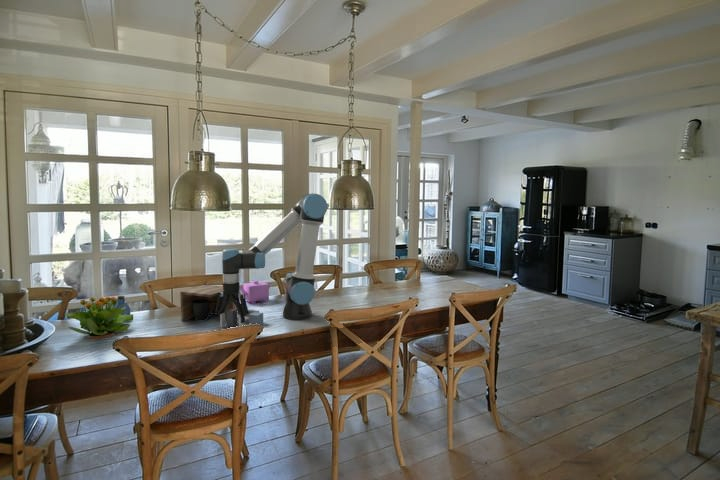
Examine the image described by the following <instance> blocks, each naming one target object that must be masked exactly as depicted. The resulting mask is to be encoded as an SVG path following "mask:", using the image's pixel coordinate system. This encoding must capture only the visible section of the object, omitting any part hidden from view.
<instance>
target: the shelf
mask: <svg viewBox="0 0 720 480" xmlns="http://www.w3.org/2000/svg"><path fill="white" fill-rule="evenodd" d="M219 292H224V290H223V285H222V286H221V285H212V284H211V285H210V284H202V285H198V286H195V287H191V288H188V289H184V290H182V291H180V295H179V296H180V319H181V322H185V321H187V320H190V319H192V318H195V316H194V313H193V307H192V302H193V301H195V300H200V299H206V300H209V301H210V302H211V301H217V300H218V293H219ZM224 298H225V297H224V296H223V300H224ZM222 304H223V301H222ZM215 306H216V302H212V303H210V309H209V314H211V313H212V311H213V310H214V308H215ZM229 309H233V302H231V301H229V302H228V304H227V306H226V308H225V310H224V312H223V313H225V316H227V314H226V311H227V310H229ZM215 310H216V309H215ZM214 314H215V315H219V313H218V312H215V311H214V312H213V314H212V315H214Z"/></svg>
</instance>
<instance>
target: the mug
mask: <svg viewBox="0 0 720 480" xmlns="http://www.w3.org/2000/svg"><path fill="white" fill-rule="evenodd" d="M212 302H216V305H217V301H211V302H210V301H209V300H206V299H200V300H195V301H193V302H192V307H193V313H194V316H195V317H194V319H195V321H197V322H204V321H207V320H208V319H209V318H211V317H212V316H213V315H214V314H213V312H214V311H215V309H216V306H215V308H214V310H213V311H212V313H209V309H210V303H212Z"/></svg>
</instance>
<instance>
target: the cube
mask: <svg viewBox="0 0 720 480" xmlns="http://www.w3.org/2000/svg"><path fill="white" fill-rule="evenodd" d="M250 323H257V324H260V325H262V324H263V323H264V313H263V312H260V311H259V312H253V313H251V314H249V322H248V325H250Z"/></svg>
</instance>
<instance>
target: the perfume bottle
mask: <svg viewBox="0 0 720 480" xmlns="http://www.w3.org/2000/svg"><path fill="white" fill-rule="evenodd" d="M116 299H118V302H117V305H116V304H115V305H116V306H115V305H114V308H115V309H116V308H121V309H122V308H124V307H126V309H124V310H123V311H124V312H123V313H121V315H124V314H126V315H131V307H130V306H129V304H128V302H126V298H125V295H119V296H117V298H116Z"/></svg>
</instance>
